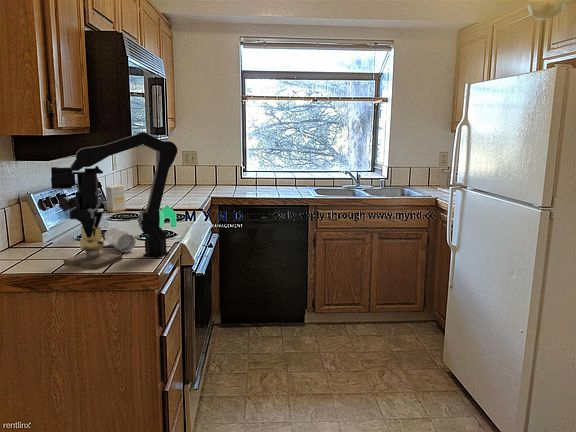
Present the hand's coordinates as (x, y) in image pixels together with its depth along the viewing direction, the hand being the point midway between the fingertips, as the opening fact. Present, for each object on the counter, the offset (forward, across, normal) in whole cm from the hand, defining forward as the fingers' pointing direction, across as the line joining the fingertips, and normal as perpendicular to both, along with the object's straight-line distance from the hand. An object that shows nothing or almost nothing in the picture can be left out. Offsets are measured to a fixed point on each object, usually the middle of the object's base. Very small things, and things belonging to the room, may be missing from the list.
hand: (91, 235), depth 149 cm
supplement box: (+9, -94, -17) cm, 96 cm away
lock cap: (+4, 0, +1) cm, 4 cm away
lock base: (+9, 0, 0) cm, 9 cm away
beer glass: (+6, -24, 0) cm, 25 cm away
